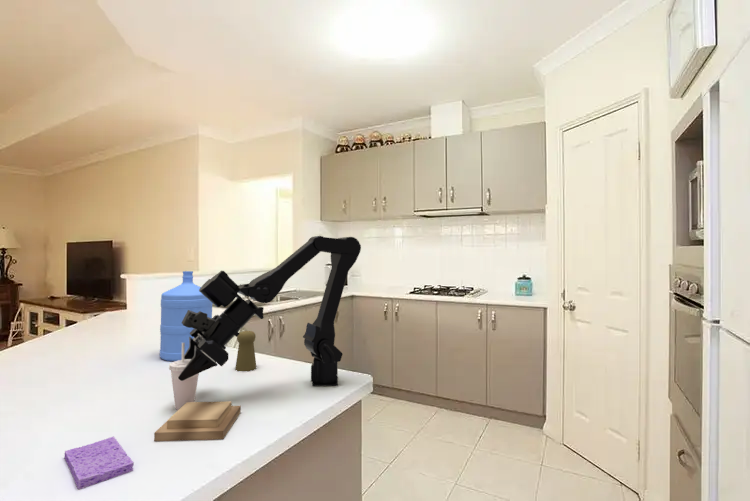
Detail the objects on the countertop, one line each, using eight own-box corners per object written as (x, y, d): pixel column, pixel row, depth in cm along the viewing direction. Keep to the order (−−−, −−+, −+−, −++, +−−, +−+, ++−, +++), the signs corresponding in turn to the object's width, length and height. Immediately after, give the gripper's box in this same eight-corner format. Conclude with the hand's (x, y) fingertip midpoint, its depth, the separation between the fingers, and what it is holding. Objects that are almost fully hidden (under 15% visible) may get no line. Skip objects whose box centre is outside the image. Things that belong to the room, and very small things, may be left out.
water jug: (198, 362, 121) (200, 272, 122) (149, 361, 122) (150, 272, 122) (219, 350, 137) (220, 270, 137) (175, 349, 137) (176, 270, 138)
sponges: (78, 493, 55) (78, 480, 55) (63, 460, 64) (63, 449, 64) (134, 473, 60) (134, 461, 60) (114, 445, 69) (114, 435, 69)
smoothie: (175, 401, 88) (176, 339, 89) (205, 401, 89) (205, 339, 89) (162, 413, 82) (164, 346, 82) (194, 412, 82) (195, 346, 83)
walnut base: (240, 412, 82) (240, 398, 83) (223, 439, 71) (223, 422, 71) (182, 414, 82) (182, 399, 82) (154, 441, 70) (154, 424, 70)
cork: (250, 372, 111) (250, 333, 111) (230, 370, 112) (231, 332, 113) (260, 366, 117) (260, 330, 117) (242, 365, 118) (242, 329, 119)
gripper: (200, 293, 96) (147, 343, 90) (212, 301, 80) (149, 362, 74) (232, 323, 100) (184, 372, 94) (251, 336, 84) (194, 396, 78)
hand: (178, 375), depth 85 cm, fingers closed on smoothie, 6 cm apart
